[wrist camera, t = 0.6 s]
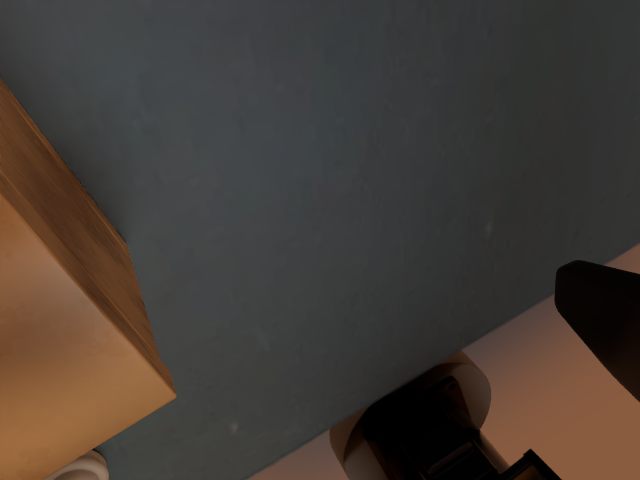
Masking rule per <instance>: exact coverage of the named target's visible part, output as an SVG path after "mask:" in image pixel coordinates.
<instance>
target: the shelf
mask: <svg viewBox="0 0 640 480" xmlns="http://www.w3.org/2000/svg"><path fill="white" fill-rule="evenodd" d="M176 397H177V394H176V390H175V387H174V384H173V380H172V377H171V374H170V371H169V370H168V369H167V367H166V366H165V365H164V364H163V363H162V362H161V360H160V359H159V354H158V351H157V348H156V344H155V341H154V337H153V334H152V330H151V327H150V323H149V320H148V316H147V313H146V309H145V306H144V302H143V299H142V295H141V292H140V288H139V285H138V281H137V278H136V274H135V271H134V267H133V264H132V260H131V257H130V254H129V250H128V247H127V245H126V243H125V242H124V241H123V239H122V238H121V237H120V235H119V234H118V233H117V231H116V230H115V229H114V228H113V226H112V225H111V224H110V222H109V221H108V220H107V218H106V217H105V216H104V214H103V213H102V212H101V210H100V209H99V208H98V206H97V205H96V204H95V202H94V201H93V200H92V198H91V197H90V196H89V194H88V193H87V192H86V190H85V189H84V188H83V187H82V185H81V184H80V183H79V181H78V180H77V179H76V177H75V176H74V175H73V173H72V172H71V171H70V169H69V168H68V167H67V165H66V164H65V163H64V161H63V160H62V159H61V157H60V156H59V155H58V153H57V152H56V151H55V149H54V148H53V147H52V146H51V144H50V143H49V142H48V140H47V139H46V138H45V136H44V135H43V134H42V132H41V131H40V130H39V128H38V127H37V126H36V124H35V123H34V122H33V120H32V119H31V118H30V116H29V115H28V114H27V112H26V111H25V110H24V109H23V107H22V106H21V105H20V103H19V102H18V101H17V99H16V98H15V97H14V95H13V94H12V93H11V91H10V90H9V89H8V87H7V86H6V85H5V83H4V82H3V81H2V79H1V78H0V480H43V479H45V478H46V477H48V476H49V475H51V474H53V473H54V472H56V471H58V470H59V469H61V468H62V467H64V466H66V465H67V464H69V463H71V462H72V461H74V460H75V459H77V458H79V457H80V456H82V455H84V454H85V453H87V452H88V451H90V450H92V449H93V448H95V447H97V446H98V445H100V444H102V443H103V442H105V441H106V440H108V439H110V438H111V437H113V436H115V435H116V434H118V433H119V432H121V431H123V430H124V429H126V428H128V427H129V426H131V425H132V424H134V423H136V422H137V421H139V420H141V419H142V418H144V417H145V416H147V415H149V414H150V413H152V412H154V411H155V410H157V409H158V408H160V407H162V406H163V405H165V404H167V403H168V402H170V401H172V400H173V399H175V398H176Z"/></svg>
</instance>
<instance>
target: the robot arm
mask: <svg viewBox="0 0 640 480" xmlns="http://www.w3.org/2000/svg"><path fill="white" fill-rule="evenodd" d="M554 300H555V305H556V308H557V310H558V312H559V313H560V314H561V316H562V317H563V318H564V319H565V320H566V321H567V323H568V324H569V325H570V326H571V327H572V329H573V330H574V331H575V332H576V333H577V335H578V336H579V337H580V338H581V339H582V340H583V341H584V343H585V344H586V345H587V346H588V348H589V349H590V350H591V351H592V352H593V354H594V355H595V356H596V357H597V358H598V359H599V361H600V362H601V363H602V364H603V365H604V367H606V369H607V370H608V371H609V372H610V373H611V374H612V375H613V376H614V377H615V378H616V379H617V380H618V381H619V382H620V384H622V386H624V387H625V388H626V389H627V390H628V391H629V392H630V393H631V394H632V395H633V396H634V397H635V398H636V399H637V400H638V401H639V402H640V274H637V273H633V272H628V271H624V270H620V269H616V268H612V267H607V266H603V265H599V264H595V263H591V262H586V261H582V260H575V261H572V262H570V263H568V264H566V265H564V266H561V267H560V268H558V270H557V272H556V281H555V299H554ZM364 438H365V440H366V441H367V443H368V445H369V447H370V448H371V450H372V452H373V454H374V455H375V457H376V459H377V461H378V462H379V464H380V466H381V468H382V469H383V471H384V473H385V475H386V476H387V478H388V480H561V479H560V477H559V476H558V475H557V474H556V473H554V471H553V470H552V469H551V468H550V467H549V466H548V465H547V464H546V463H545V462H544V461H543V460H542V459H541V458H540V457H539V456H538V455H536V454H535V452H534V451H533V450H532V449H529V450H528V451H527V452H525V453H524V454H523V457H522V458H521V459H519V460H518V461H517V462H516V463H514V464H513V465H512V466H509V465H508V463H507V462H506V461H505V460H504V458H503V457H502V456H501V455H500V454H499V453H498V451H497V450H496V449H495V448H494V447H493V445H492V444H491V443H490V442H489V441H488V440H487V439H486V437H485V436H484V435H483V434H482V432H481V431H480V430H479V429H478V428H477V426H476V425H475V424H474V423H473V422H472V419H471V416H470V413H469V411H468V408H467V405H466V402H465V399H464V396H463V393H462V390H461V387H460V384H459V382H458V381H457V379H456V378H455V377H454V376H448V377H446V378H445V379H443V380H442V381H440V382H439V383H437V384H435V385H434V386H432V387H431V388H429V389H428V390H426V391H425V392H423V393H422V394H420V395H419V396H417V397H416V398H414V399H412V400H411V401H409V402H408V403H406V404H405V405H403V406H402V407H400V408H399V409H397V410H396V411H394V412H393V413H391V414H389V415H388V416H386V417H385V418H383V419H382V420H380V421H379V422H377V423H376V424H374V425H373V426H371V427H370V428H368V429H367V430H366V431H365V432H364Z"/></svg>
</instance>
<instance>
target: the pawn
mask: <svg viewBox="0 0 640 480" xmlns="http://www.w3.org/2000/svg"><path fill="white" fill-rule="evenodd" d="M108 479H109V474H108V470H107V468H106V462H105V460H104V458H103V457H102V456H101V455H100V454H99V453H97V452H95V451H93V450H90V451H88V452H87V453H85V454H84V455H82V456H80V457H79V458H77V459H75V460H74V461H72V462H71V463H69V464H67V465H66V466H64V467H62V468H61V469H59V470H58V471H56V472H54V473H53V474H51V475H49V476H48V477H46V478H45V479H43V480H108Z"/></svg>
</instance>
